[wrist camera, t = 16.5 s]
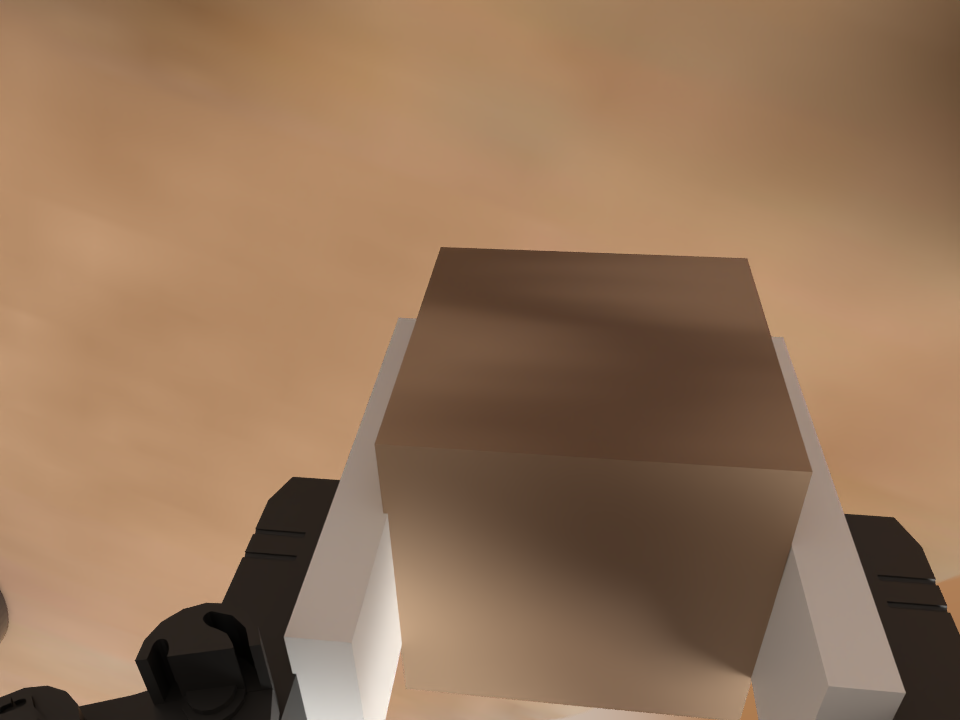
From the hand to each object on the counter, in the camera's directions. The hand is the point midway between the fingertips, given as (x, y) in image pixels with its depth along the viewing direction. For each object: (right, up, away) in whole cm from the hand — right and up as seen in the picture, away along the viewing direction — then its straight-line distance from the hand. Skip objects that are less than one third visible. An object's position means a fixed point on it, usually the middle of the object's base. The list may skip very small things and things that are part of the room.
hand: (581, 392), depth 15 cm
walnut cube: (0, 0, 0) cm, 0 cm away
